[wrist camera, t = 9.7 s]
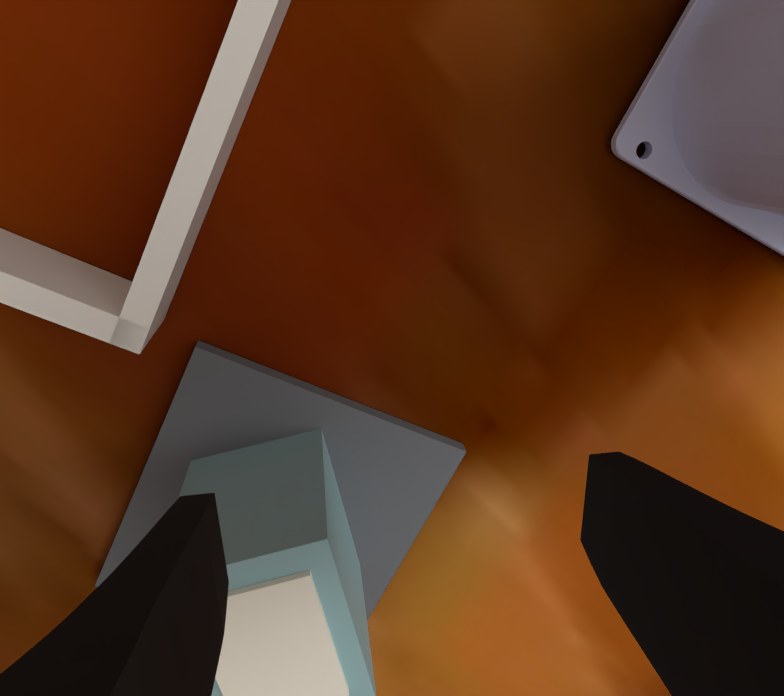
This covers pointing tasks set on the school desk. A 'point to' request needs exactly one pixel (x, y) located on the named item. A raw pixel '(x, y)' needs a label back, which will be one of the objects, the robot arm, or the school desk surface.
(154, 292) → the parts bin
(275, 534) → the teal labelled box
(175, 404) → the charcoal mat
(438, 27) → the school desk surface
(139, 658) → the robot arm
